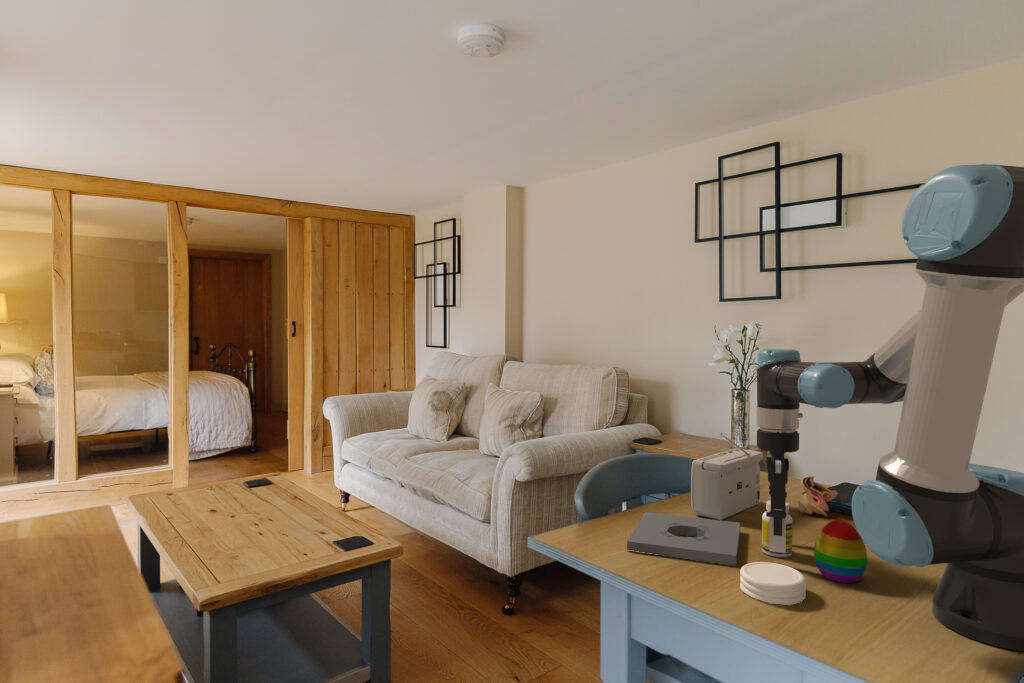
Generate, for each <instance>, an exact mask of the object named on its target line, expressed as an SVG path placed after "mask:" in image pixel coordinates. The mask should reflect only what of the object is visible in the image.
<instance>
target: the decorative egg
mask: <svg viewBox="0 0 1024 683" xmlns="http://www.w3.org/2000/svg"><path fill="white" fill-rule="evenodd" d="M814 541H815V542H814V546H813V547H814V548H813V556H814V558H813V559H814V562H815V565H816V566H817V569H818V570H819V572H820V574H821V575H822V576H823V577H824V578H825V579H828V580H830V581H832V582H837V583H840V582H841V583H842V584H854V583H856V582H858V581H859V580H860V579H861V578H862V577H863V575H864V574H865V572H866V569H867V564H868V552H867V548H866V544H865V542H864V541H863V540H862V538H861V535H860V533H859V531H858V530H857V528H855V527H854V526H853V525H851V523H849V522H847V521H845V520H842V519H834V520H832V521H829V522H828V523H826V524H825V525H823V527H822V528H821V530H820V531H819V532H818V534H817V536H816V538H815V540H814ZM841 583H840V584H841Z"/></svg>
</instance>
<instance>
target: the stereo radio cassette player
mask: <svg viewBox="0 0 1024 683" xmlns="http://www.w3.org/2000/svg"><path fill="white" fill-rule="evenodd" d="M719 435H720V436H722V437H724V438H725V439H726V441H728V442H729V443H730V444H733V446H734V447H735V448H731V449H728V450H724V451H721V452H718V453H715V454H711V455H707V456H704V457H701V458H697V459H695V460H692V463H691V471H690V472H691V473H690V474H691V475H690V476H691V477H690V501H691V504H690V505H691V510H692V511H693V512H694V513H695V514H696V515H697V516H699V517H706V518H708V519H713V520H721V521H723V520H724V519H727V518H729V517H732V516H733V515H736V514H737V513H740V512H742V511H745V510H747V509H749V508H752V507H754V506H757V505H759V503H760V499H761V461H763V460H764V453H763V452H762V451H757V450H752V449H745V448H742V447H740V445H738V444H737V443H736V442H734V441H733V440H731V439H730V438H728V437H727V436H725V435H724V434H723V433H722V432H719Z"/></svg>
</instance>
